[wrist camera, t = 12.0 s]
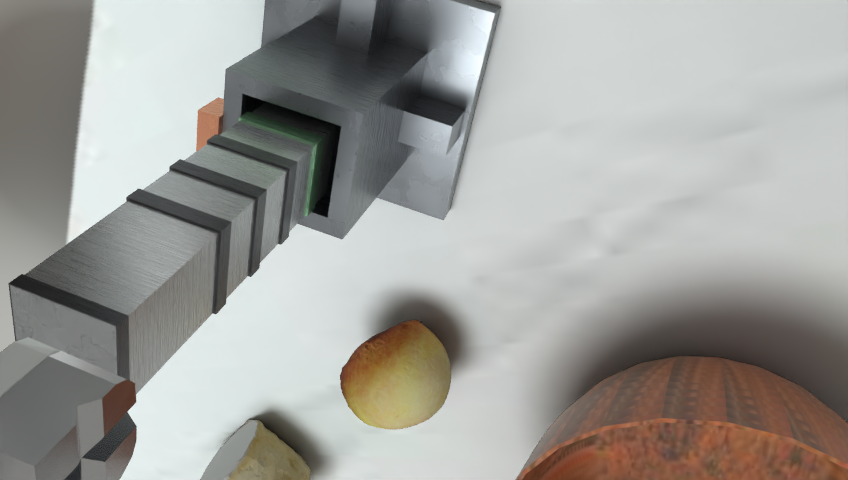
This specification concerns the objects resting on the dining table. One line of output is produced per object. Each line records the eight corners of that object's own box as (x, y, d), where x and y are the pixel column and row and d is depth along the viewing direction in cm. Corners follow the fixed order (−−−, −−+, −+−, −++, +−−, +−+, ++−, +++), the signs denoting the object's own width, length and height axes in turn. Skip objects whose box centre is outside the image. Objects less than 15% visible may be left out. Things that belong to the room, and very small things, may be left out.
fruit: (368, 372, 63) (327, 441, 56) (370, 286, 58) (326, 350, 52) (460, 395, 61) (429, 470, 54) (469, 309, 57) (437, 378, 50)
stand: (281, -58, 48) (163, -14, 38) (500, 7, 46) (438, 72, 35) (262, 146, 55) (160, 229, 45) (449, 210, 53) (386, 312, 43)
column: (264, 99, 41) (7, 281, 26) (338, 124, 40) (118, 325, 25) (257, 170, 43) (18, 374, 28) (328, 194, 42) (120, 416, 28)
